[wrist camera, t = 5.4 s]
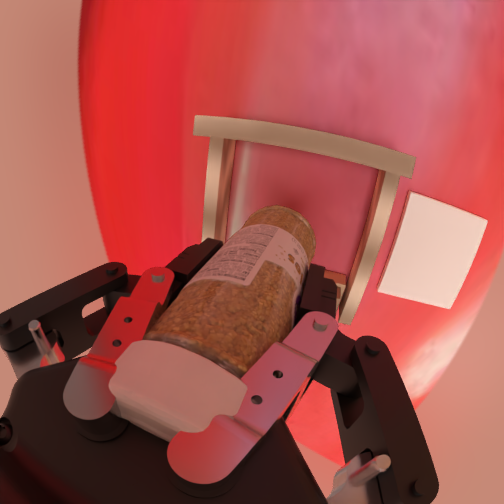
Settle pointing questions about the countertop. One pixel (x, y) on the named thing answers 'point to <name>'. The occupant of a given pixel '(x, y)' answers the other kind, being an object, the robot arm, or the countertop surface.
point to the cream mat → (431, 251)
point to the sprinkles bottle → (217, 328)
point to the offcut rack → (314, 141)
